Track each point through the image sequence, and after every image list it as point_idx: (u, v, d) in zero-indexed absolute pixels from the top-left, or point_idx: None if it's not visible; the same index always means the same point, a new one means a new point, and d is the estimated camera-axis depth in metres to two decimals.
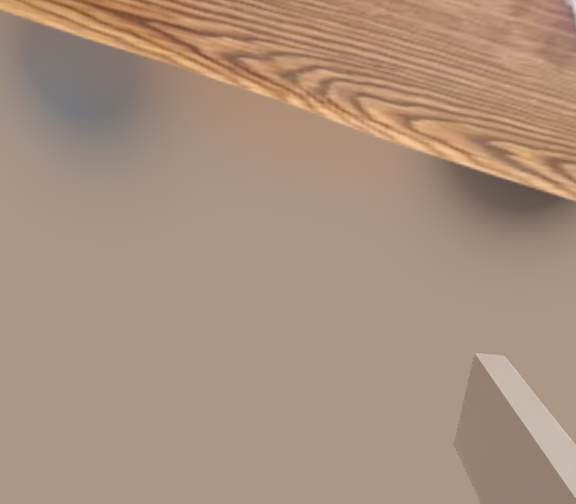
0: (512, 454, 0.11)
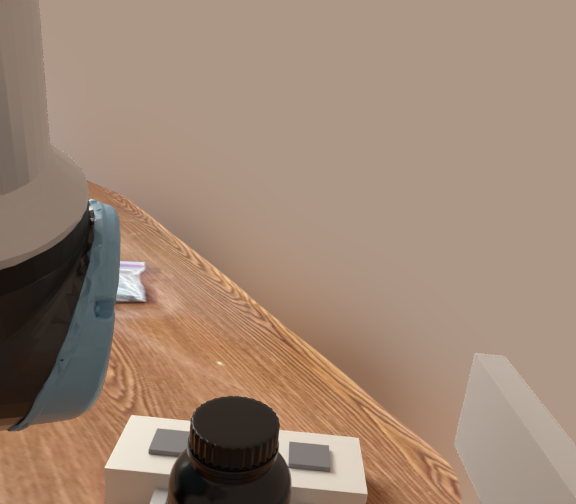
0: (512, 454, 0.11)
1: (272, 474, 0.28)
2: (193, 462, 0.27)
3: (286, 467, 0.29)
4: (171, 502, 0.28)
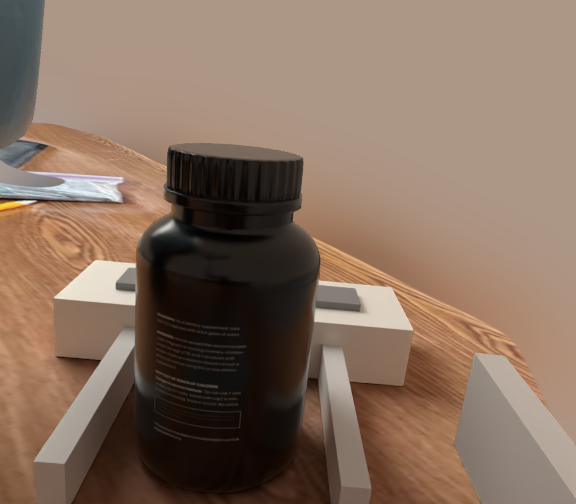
0: (512, 454, 0.11)
1: (294, 232, 0.19)
2: (172, 200, 0.17)
3: None
4: (139, 270, 0.18)
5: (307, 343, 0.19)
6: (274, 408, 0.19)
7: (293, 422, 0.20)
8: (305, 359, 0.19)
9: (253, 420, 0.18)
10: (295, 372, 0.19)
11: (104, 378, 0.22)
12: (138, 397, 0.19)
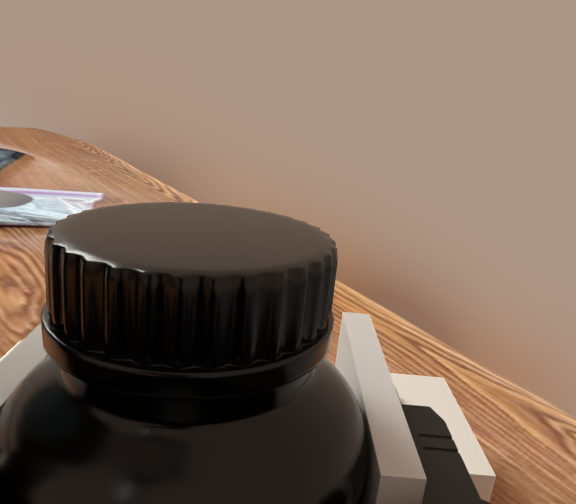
0: None
1: (319, 399, 0.09)
2: (50, 351, 0.08)
3: (350, 388, 0.10)
4: None
5: None
6: None
7: None
8: None
9: None
10: None
11: None
12: None
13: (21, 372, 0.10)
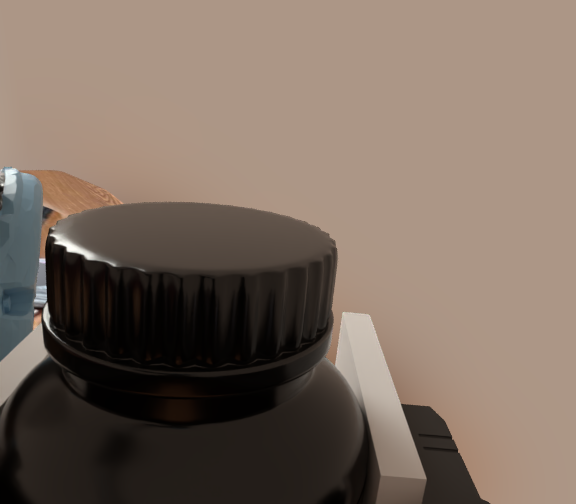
0: None
1: (319, 398, 0.09)
2: (51, 350, 0.08)
3: (350, 388, 0.10)
4: None
5: None
6: None
7: None
8: None
9: None
10: None
11: None
12: None
13: (21, 372, 0.10)
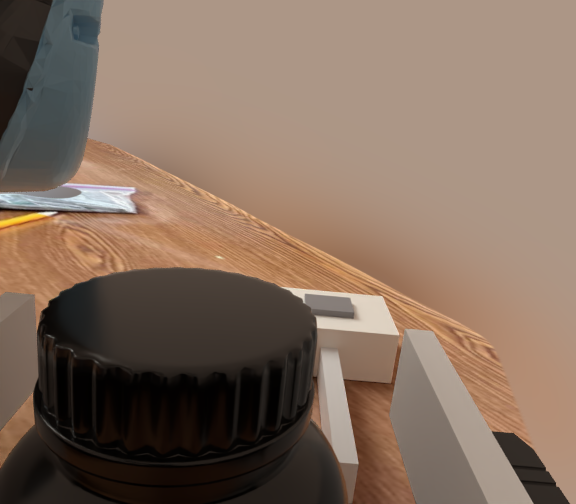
0: (425, 416, 0.12)
1: (299, 470, 0.09)
2: (41, 433, 0.08)
3: (331, 451, 0.11)
4: None
5: None
6: None
7: None
8: None
9: None
10: None
11: None
12: None
13: None
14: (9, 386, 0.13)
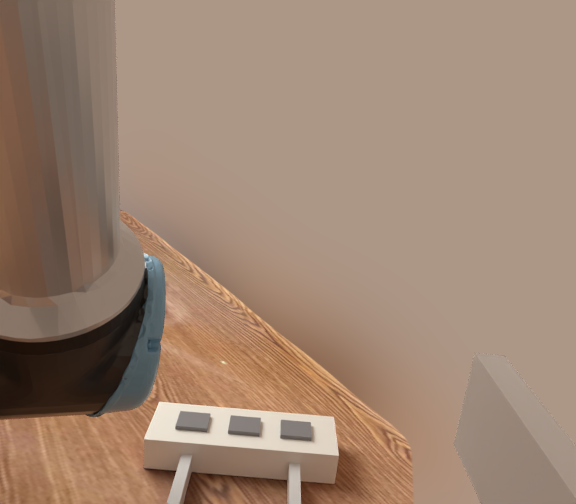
0: (512, 454, 0.11)
1: None
2: None
3: None
4: None
5: None
6: None
7: None
8: None
9: None
10: None
11: (177, 492, 0.44)
12: None
13: None
14: None
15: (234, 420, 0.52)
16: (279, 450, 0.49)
